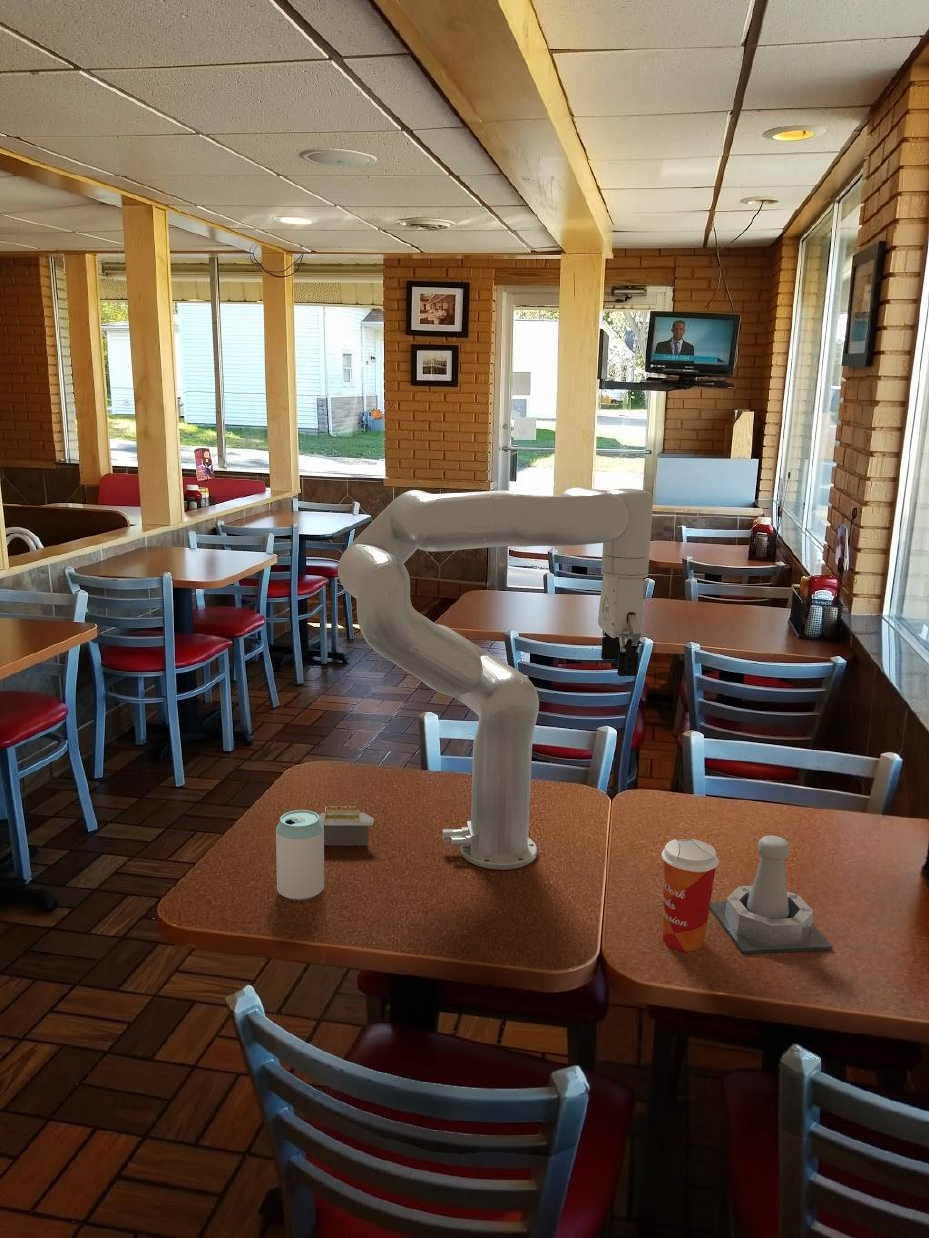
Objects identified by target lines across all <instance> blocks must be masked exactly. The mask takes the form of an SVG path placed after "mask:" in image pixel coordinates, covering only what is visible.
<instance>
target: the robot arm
mask: <svg viewBox="0 0 929 1238" xmlns="http://www.w3.org/2000/svg"><path fill="white" fill-rule="evenodd" d="M653 506H654V498H653V495H652V494H651V492H650V491H647V490H644V489H637V488H616V489H611V490H610V489H609V490H606V489H605V490H604V489H595V488H589V487H581V486H579V487H572V488H568V489H566V490H565V491H563V492H562V493H561V494H559V495H545V494H537V493H536V494H535V493H529V492H523V491H516V490H506V489H505V490H503V489H501V490H486V491H485V490H483V491H472V492H471V491H469V492H453V493H452V492H450V493H430V492H426V491H424V490H419V489H417V490H416V489H413V490H412V489H411V490H408V491H405V492H403V493H401V494H400V495H398V496H397V497H396V498H395V499H393V500H392V501H391V502H390V503H389V504H388V505H387V506H386V507H385V508H384V509H383V510H382V511H381V512H380V513H379V514H378V515H377V516H376V517H375V518H374V519H373V521H371V523H369V525H368V526H367V527H366V528H365V529H364V530H363V531H362V532H361V533H360V534H358V535H357V537H355V538H354V540H353V541H352V542H351V543H350V544H349V545H348V547H346V549H345V550H344V551H343V553H342V555H341V557H340V559H339V562H338V565H337V576H338V579H339V583H340V584H341V586H342V587H343V589H344V590H345V591H346V592H347V593H348V594H349V595H351V596H352V597H353V598H355V599H356V616H357V623H358V627H359V630H360V632H361V635H362V637H363V639H364V640H365V642H366V643H367V644H368V646H369V647H371V648H372V649H373V650H374V652H376V653H378V654H379V655H380V656H382V657H383V658H385V659H386V660H388V661H390V662H392V663H393V664H394V665H396V666H397V667H399V668H401V670H403V671H405V672H407V673H408V674H410V675H412V676H414V677H415V678H417V679H418V680H420V681H421V682H423V684H425V685H426V686H428V687H429V688H430V689H432V690H434V691H435V692H438V693H440V694H442V695H447V696H449V697H452V698H454V699H456V700H458V701H459V702H460V703H462V704H464V705H465V706H466V707H468V708H469V709H470V710H472V712H474V713H475V714H476V716H478V726H477V730H476V733H475V736H474V740H473V746H472V772H471V773H472V775H471V777H472V778H471V779H472V780H471V806H470V807H471V810H470V820H467V821H466V826H461V828H458V829H457V828H456V829H454V828H443V829H442V831H441V837H442V838H441V839H442V841H443V842H450V845H451V847H460V853H461V856H462V857H463V858H464V860H466V861H467V862H469V863H471V864H472V865H475V866H476V867H477V866H478V867H481V868H484V869H489V870H499V871H500V870H501V871H503V870H507V871H508V870H514V869H519V868H523V867H525V866H528V865H529V864H531V863H532V862H533V861H534V860H536V858H537V854H538V846H537V845H536V843H535V842H534V841H533V840H532V839H531V838H530V837H529V824H530V823H529V822H530V804H531V803H530V802H531V799H530V798H531V780H532V776H531V775H532V756H533V752H532V751H533V741H534V736H535V735H534V734H535V729H536V723H537V720H538V715H539V711H540V700H539V694H538V691H537V689H536V687H535V685H534V684H533V682H532V681H531V680H530V679H529V677H527V676H526V675H525V674H524V673H522V672H520V671H519V670H517V669H516V668H514V667H513V666H511V665H509V664H508V663H506V662H504V661H503V660H502V659H500V658H498V657H497V656H495V655H493V654H492V653H490V652H488V651H487V650H485V649H483V648H482V647H481V646H479V645H478V644H476V643H474V642H472V641H471V640H469V639H467V638H466V637H465V636H463V635H461V634H460V633H458V632H457V631H454V629H452V628H451V627H448V626H446V625H443V624H437V623H435V622H433V621H432V620H430V619H429V618H428V617H427V616H425V615H423V614H422V613H420V612H418V611H417V610H416V609H415V608H414V607H413V605H412V604H413V603H412V601H411V579H410V578H411V577H410V575H409V571H408V569H407V567H406V566H405V563H406V562H407V561H408V559H410V558H411V557H412V555H414V553H415V552H416V551H417V550H421V551H425V552H447V551H449V552H450V551H462V550H471V549H473V550H474V549H486V548H497V547H517V548H518V547H519V548H520V547H523V548H524V547H525V548H526V547H527V548H528V547H561V546H562V547H565V546H566V547H568V546H569V547H570V546H572V547H573V546H584V545H596V544H597V545H598V544H602V556H601V572H600V574H601V575H602V576H603V577H602V581H601V588H600V590H601V591H600V598H599V599H600V600H599V605H598V606H599V607H598V618H597V624H598V626H599V629H601V630H602V631H601V633H602V636H601V637H602V638H601V639H602V640H601V652H600V653H601V654H600V657H601V659H602V661H617V669H616V670H617V671H616V675H618V677H636V676H638V670H639V669H638V668H639V653H640V645H641V640H640V638H641V635H642V631H643V619H644V618H643V617H644V579H645V578H647V577H649V565H650V553H651V552H650V551H651V549H650V548H651V536H652V523H653V521H652V520H653Z"/></svg>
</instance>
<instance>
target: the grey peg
mask: <svg viewBox="0 0 929 1238" xmlns="http://www.w3.org/2000/svg"><path fill="white" fill-rule="evenodd" d="M757 843H758V844H757V845H758V846H757V852H758V854H759V856H760V859H759V862H758V867H757V869H756V874H755V877H754V880H753V883H752V885H751V886H752V889H751V892H750V895H749V898H748V901H747V910H748V912H751V913H754V914H757V915H760V916H763V917H766V918H768V919H786V918H787V917H788V914H789V908H788V898H787V891H788V890H787V889H788V888H787V876H786V866H785V860H786V859H788V857H789V856H790V850H791V849H790V843H789V842H788V841H787V840H786V839H785V838H783V837H780V836H777V835H764V836H763V837H762V838H760V839H759V840H758V842H757Z"/></svg>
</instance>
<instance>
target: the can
mask: <svg viewBox="0 0 929 1238" xmlns="http://www.w3.org/2000/svg"><path fill="white" fill-rule="evenodd" d="M319 815H320V814H318V813H317V812H315V811H312V810H307V809H296V810H291V811H288V812H285V813H283V814H282V815H281V816H280V817H279V823H278V824H277V826H276V827H275V848H276V849H275V850H276V852H275V854H276V855H275V858H276V891H277V893H278V894H279V895H281V896H283V897H284V898H287V899H288V900H292V901H305V900H309V899H312V898H315V897H316V896H317V895H320V893H321V892H323V890H324V889H325V845H324V826H323V824H322V823H321V821H320V820H319Z"/></svg>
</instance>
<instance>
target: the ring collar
mask: <svg viewBox="0 0 929 1238" xmlns="http://www.w3.org/2000/svg"><path fill="white" fill-rule="evenodd" d="M752 886H753V885H739V886H738V887H737V888H736V889H734V890H733V891H732V892H731V894H729V896H727V897H726V901H710V907H709V911H710V912H711V913H712V914H713V916H714V917H715V918H716V920H717V921H718V923H719V924H720V925H721V927H722V928H723V930H724V931H725V932H726V934H727V935H728V937H729V936H730V937H729V938H730V940H731V941H732V942H733V943H734V945H735V946H736V948H737V949H738V951H739V952H740V954H742V955H745V956H746V955H760V954H761V955H762V954H763V955H764V954H781V953H784V954H785V953H799V952H800V953H801V952H802V953H803V952H820V951H822V952H823V951H832V950H833V945H832V944H831V943H830V942H829V941H828V940H827V939H826V937H825V936H824V935H823V934H822V932H820V931H819V930H818V928H817V927H816V926H815V924H813V919H814V917H813V916H814V910H813V909H812V908H811V907H810V906H809V904H807V903H806V901H805V900H804V899H803V898H802V897H801V896H800V894H797V893H794V892H791V891H788V890H787V898H788V908H789V914H788V917H787V918H786V919H768V918H766V917H763V916H760V915H757V914H754V913H751V912H748V910H747V901H748V898H749V895H750V892H751V889H752Z"/></svg>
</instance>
